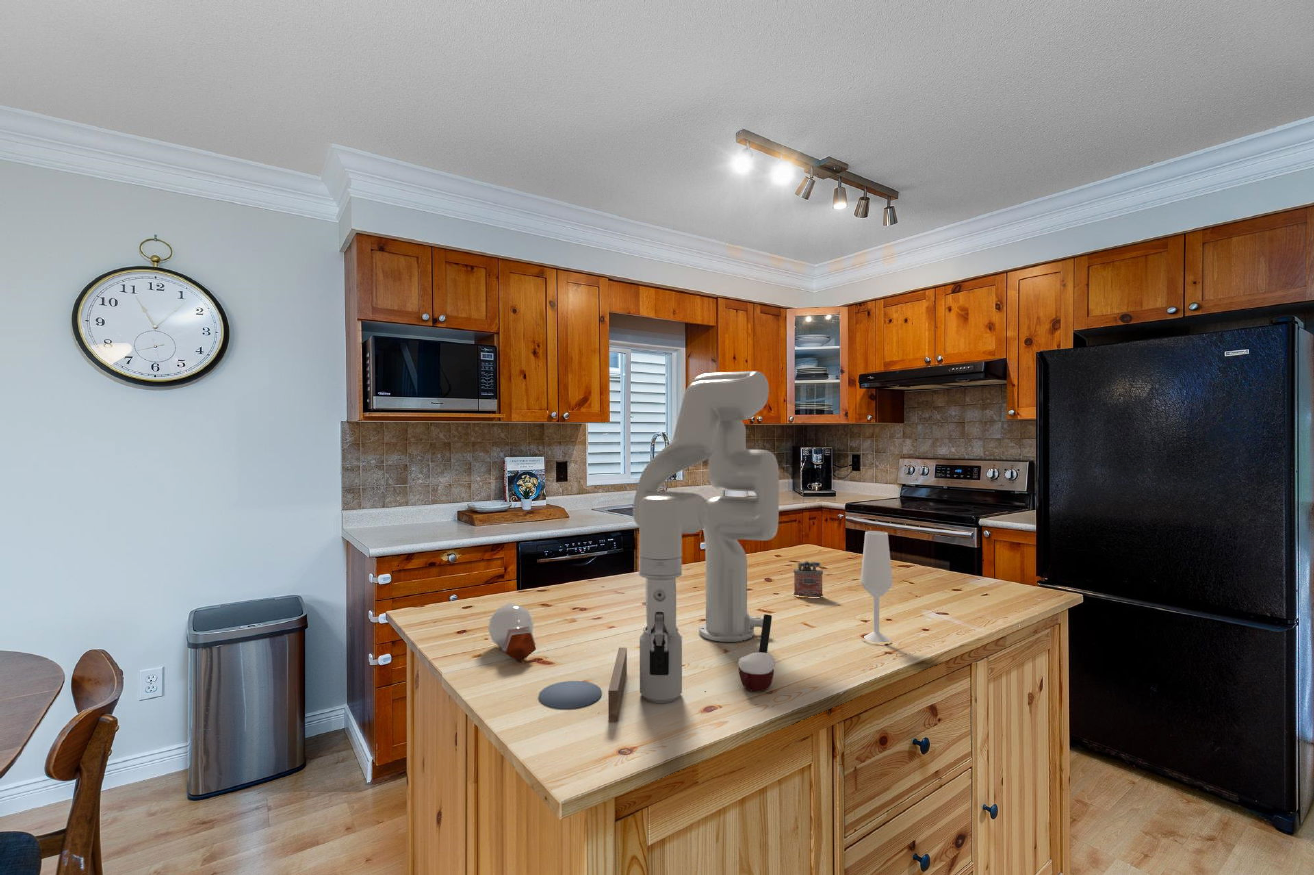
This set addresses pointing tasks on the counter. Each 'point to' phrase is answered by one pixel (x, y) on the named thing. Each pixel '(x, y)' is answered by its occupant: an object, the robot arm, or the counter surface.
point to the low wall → (617, 685)
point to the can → (661, 685)
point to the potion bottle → (513, 631)
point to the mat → (570, 694)
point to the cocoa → (758, 663)
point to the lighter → (808, 580)
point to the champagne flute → (876, 574)
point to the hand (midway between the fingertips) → (659, 664)
